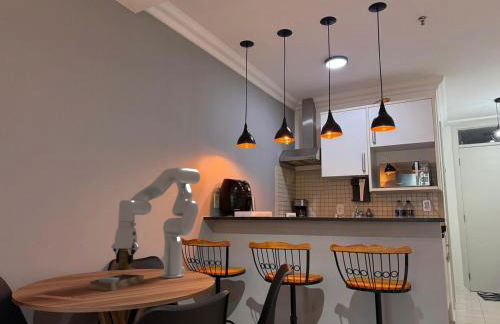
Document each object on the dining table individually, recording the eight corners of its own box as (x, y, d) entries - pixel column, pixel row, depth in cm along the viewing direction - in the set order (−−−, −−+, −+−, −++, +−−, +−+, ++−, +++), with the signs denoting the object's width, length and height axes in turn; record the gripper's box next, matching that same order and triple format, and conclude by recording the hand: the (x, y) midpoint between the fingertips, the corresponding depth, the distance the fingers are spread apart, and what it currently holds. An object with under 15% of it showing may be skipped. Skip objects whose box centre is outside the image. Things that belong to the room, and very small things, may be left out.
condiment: (135, 268, 175) (136, 243, 177) (123, 271, 168) (124, 244, 169) (123, 267, 178) (125, 243, 180) (111, 270, 170) (112, 244, 172)
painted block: (104, 285, 165) (104, 277, 166) (118, 287, 163) (119, 277, 163) (98, 287, 162) (98, 278, 162) (112, 288, 159) (113, 279, 160)
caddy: (121, 282, 180) (121, 273, 181) (143, 283, 176) (143, 275, 177) (88, 290, 160) (89, 281, 160) (112, 292, 155) (113, 283, 156)
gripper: (145, 225, 177) (144, 262, 174) (116, 225, 182) (114, 261, 180) (136, 225, 170) (134, 264, 167) (106, 225, 175) (104, 263, 173)
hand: (124, 262), depth 173 cm, fingers closed on condiment, 6 cm apart
